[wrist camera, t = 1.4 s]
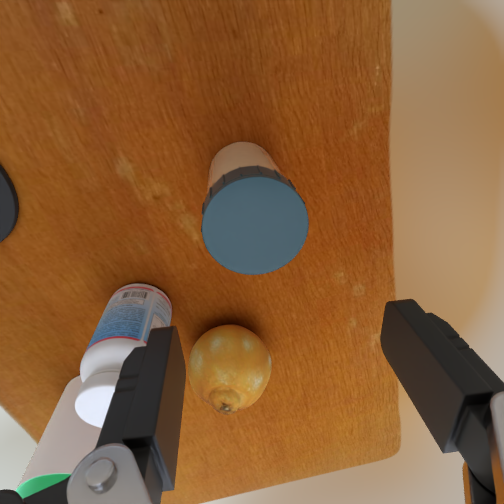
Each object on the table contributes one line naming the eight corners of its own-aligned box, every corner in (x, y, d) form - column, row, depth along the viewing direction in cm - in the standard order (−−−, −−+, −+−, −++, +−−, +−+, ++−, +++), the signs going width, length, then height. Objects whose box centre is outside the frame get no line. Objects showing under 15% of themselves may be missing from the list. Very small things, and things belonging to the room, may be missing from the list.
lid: (194, 169, 18) (192, 181, 16) (300, 159, 19) (311, 170, 17) (208, 261, 21) (208, 280, 19) (300, 251, 21) (309, 269, 19)
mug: (161, 427, 41) (146, 527, 32) (102, 443, 42) (70, 545, 33) (118, 364, 36) (85, 464, 27) (49, 383, 36) (-7, 487, 27)
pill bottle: (100, 317, 32) (49, 423, 23) (124, 271, 30) (79, 366, 20) (157, 338, 34) (133, 443, 25) (184, 296, 32) (169, 394, 22)
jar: (204, 144, 26) (197, 181, 17) (275, 138, 26) (304, 171, 17) (213, 211, 28) (211, 273, 19) (277, 205, 28) (303, 263, 20)
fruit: (175, 387, 35) (214, 446, 29) (173, 324, 32) (217, 376, 26) (238, 359, 39) (282, 404, 34) (243, 301, 36) (292, 341, 31)
